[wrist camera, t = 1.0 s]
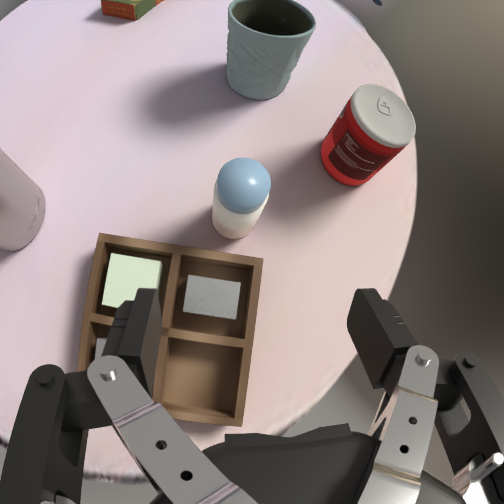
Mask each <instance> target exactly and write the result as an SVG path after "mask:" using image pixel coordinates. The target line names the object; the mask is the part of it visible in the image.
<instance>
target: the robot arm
mask: <svg viewBox="0 0 504 504" xmlns="http://www.w3.org/2000/svg"><path fill="white" fill-rule="evenodd" d="M44 213H45V200H44V196H43V193H42V191H41V189H40V188H39V187H38V185H36V184H35V183H34V182H33V181H32V180H31V179H30V178H29V177H28V176H27V175H26V174H25V173H24V172H23V171H22V170H21V169H20V168H19V167H18V166H17V165H16V164H15V163H14V162H13V161H12V160H11V159H10V158H9V157H8V156H7V155H6V154H5V152H4V151H3V150H2V149H1V148H0V249H2V250H5V251H17V250H20V249H22V248H23V247H25V246H26V245H28V244H29V243H30V242H31V241H32V240H33V238H34V237H35V236H36V234H37V233H38V231H39V229H40V227H41V224H42V222H43V219H44ZM347 328H348V332H349V334H350V336H351V338H352V341H353V343H354V345H355V347H356V350H357V352H358V354H359V356H360V359H361V361H362V363H363V365H364V368H365V370H366V372H367V375H368V377H369V379H370V382H371V384H372V386H373V389H378V388H384V389H385V393H384V395H383V397H382V400H381V403H380V405H379V408H378V411H377V413H376V416H375V418H374V421H373V423H372V426H371V428H370V430H369V432H368V434H363V433H359V432H354V431H350V428H349V424H348V423H346V424H340V425H333V426H326V427H320V428H317V429H315V430H312V431H309V432H306V433H303V434H300V435H297V436H295V437H291V438H288V437H280V436H273V435H266V434H259V433H247V434H225V442H223V443H219V444H216V445H213V446H211V447H209V448H206V449H204V450H203V451H201V450H200V449H199V448H198V447H197V446H196V445H195V444H194V443H193V442H192V440H191V439H190V438H189V437H188V436H187V435H186V434H185V432H184V431H183V430H182V429H181V428H180V427H179V425H178V424H177V423H176V422H175V421H174V419H173V418H172V417H171V416H170V414H169V413H168V412H167V411H166V410H165V408H164V407H163V406H162V405H161V404H160V403H159V402H156V403H155V402H154V401H153V400H152V391H153V384H154V377H155V370H156V364H157V357H158V351H159V345H160V339H161V332H162V319H161V311H160V303H159V295H158V290H157V288H138V290H137V293H136V296H135V299H134V301H132V300H125V301H124V302H123V303H122V304H121V305H120V306H119V307H118V308H117V311H116V314H115V317H114V320H113V322H112V325H111V328H110V331H109V334H108V337H107V340H106V343H105V346H104V349H103V352H102V355H101V357H99V358H97V359H96V360H94V361H93V362H92V363H91V364H90V365H89V367H88V369H87V370H84V371H80V372H74V373H67V374H64V372H63V370H62V369H61V368H60V367H58V366H56V365H52V364H47V365H42V366H40V367H38V368H37V369H35V370H34V371H33V372H32V374H31V375H30V377H29V380H28V383H27V386H26V389H25V392H24V394H23V397H22V400H21V404H20V407H19V410H18V413H17V416H16V420H15V423H14V427H13V430H12V434H11V437H10V441H9V445H8V449H7V453H6V458H5V461H4V466H3V471H2V475H1V480H0V504H80V499H81V487H82V477H83V468H84V460H85V452H86V445H87V438H88V431H89V429H93V428H99V427H105V426H111V425H112V427H113V429H114V430H115V432H116V433H117V435H118V437H119V438H120V440H121V441H122V443H123V444H124V446H125V447H126V449H127V450H128V452H129V453H130V455H131V456H132V458H133V459H134V461H135V462H136V464H137V465H138V467H139V468H140V470H141V471H142V472H143V474H144V475H145V477H146V478H147V479H148V481H149V482H150V483H151V485H152V486H153V487H154V489H155V490H156V491H157V492H158V495H157V496H156V497H155V498H154V499H153V500H152V501H151V502H150V504H504V399H503V397H502V395H501V394H500V392H499V390H498V388H497V386H496V385H495V383H494V381H493V380H492V378H491V377H490V375H489V373H488V371H487V370H486V368H485V366H484V365H483V363H482V362H481V360H480V359H479V358H478V357H477V356H476V355H475V354H473V353H471V352H468V351H461V352H459V353H458V354H457V355H456V357H455V358H454V360H446V359H438V357H437V355H436V354H435V352H434V351H432V350H431V349H429V348H428V347H425V346H421V345H418V343H417V342H416V340H415V339H414V337H413V335H412V334H411V332H410V331H409V329H408V327H407V326H406V324H404V321H403V320H402V318H401V317H400V316H399V313H398V312H397V311H396V309H395V307H394V306H393V305H391V304H390V303H389V302H388V301H387V300H385V299H384V300H382V298H381V297H380V295H379V293H378V292H377V290H376V289H374V288H367V289H357V290H356V292H355V294H354V298H353V301H352V304H351V308H350V311H349V314H348V317H347ZM463 397H464V399H465V401H466V403H467V405H468V407H469V409H470V411H471V419H470V422H469V420H468V418H467V416H466V414H465V412H464V410H463V408H462V406H461V404H460V401H461V400H462V399H463ZM434 424H435V426H436V428H437V431H438V433H439V436H440V438H441V440H442V443H443V446H444V448H445V451H446V454H447V456H448V459H449V462H450V464H451V467H452V470H453V472H454V475H455V476H454V478H453V486H452V487H451V488H450V487H449V486H447V485H446V484H444V483H442V482H441V481H439V480H438V479H436V478H434V477H432V476H431V475H430V474H428V473H427V472H425V471H423V470H422V468H423V464H424V461H425V457H426V454H427V449H428V446H429V442H430V438H431V434H432V429H433V425H434Z"/></svg>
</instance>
